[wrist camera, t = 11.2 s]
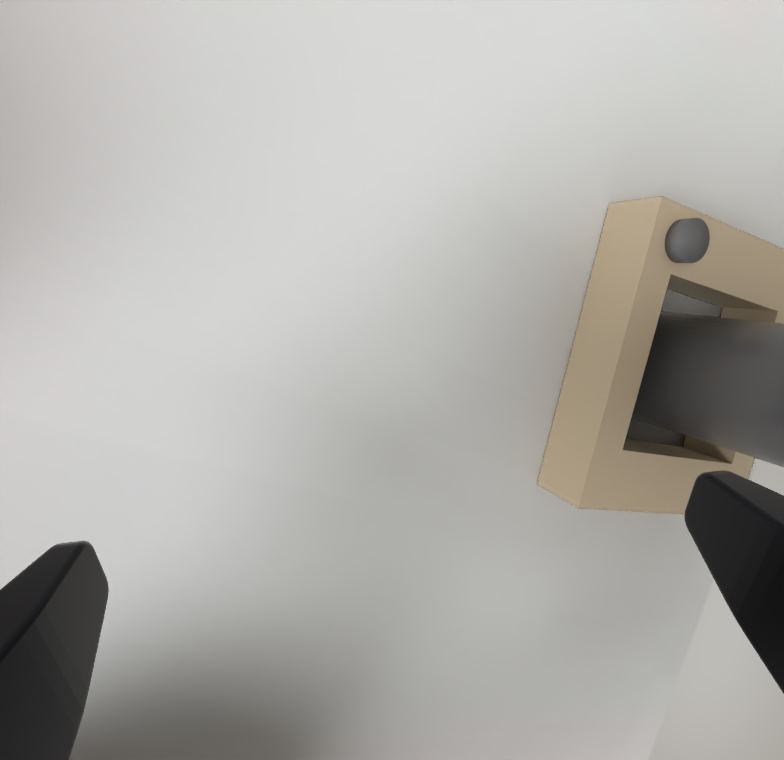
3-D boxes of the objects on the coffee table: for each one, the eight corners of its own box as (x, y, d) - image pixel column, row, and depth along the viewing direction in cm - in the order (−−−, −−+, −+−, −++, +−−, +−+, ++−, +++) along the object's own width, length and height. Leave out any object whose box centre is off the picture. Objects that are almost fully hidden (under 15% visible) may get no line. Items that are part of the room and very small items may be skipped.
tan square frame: (688, 496, 27) (749, 522, 24) (537, 484, 23) (589, 514, 20) (757, 262, 26) (829, 262, 23) (609, 203, 21) (676, 193, 19)
